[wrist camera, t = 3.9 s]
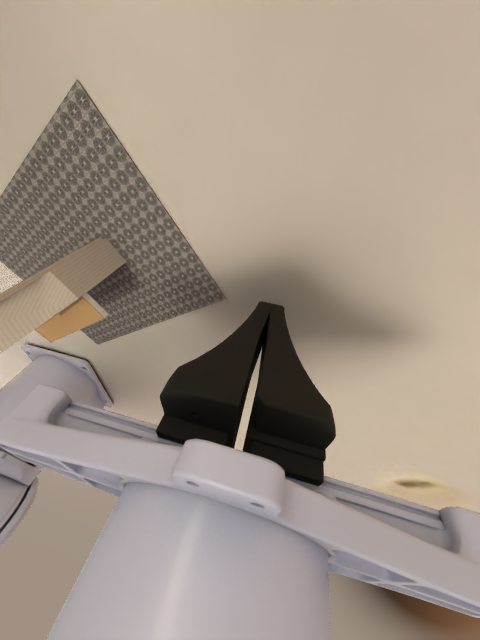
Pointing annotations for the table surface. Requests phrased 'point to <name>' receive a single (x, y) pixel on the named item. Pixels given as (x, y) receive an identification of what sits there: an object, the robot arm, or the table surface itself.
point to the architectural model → (90, 238)
